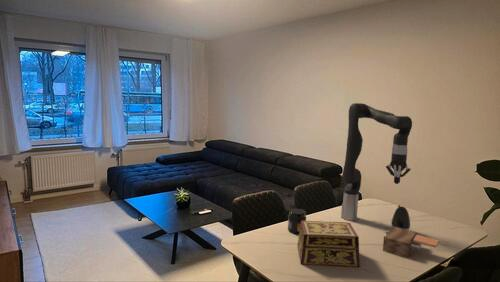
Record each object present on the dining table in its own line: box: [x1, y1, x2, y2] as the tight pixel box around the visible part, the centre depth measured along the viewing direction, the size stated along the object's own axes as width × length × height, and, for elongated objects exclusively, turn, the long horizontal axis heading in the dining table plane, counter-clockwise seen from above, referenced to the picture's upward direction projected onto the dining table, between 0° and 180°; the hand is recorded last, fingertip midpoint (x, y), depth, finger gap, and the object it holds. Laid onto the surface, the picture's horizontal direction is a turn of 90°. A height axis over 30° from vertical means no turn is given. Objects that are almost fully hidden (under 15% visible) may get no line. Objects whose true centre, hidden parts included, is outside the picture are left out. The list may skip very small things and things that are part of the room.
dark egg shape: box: [390, 205, 411, 230], centre depth 189 cm, size 10×10×15 cm
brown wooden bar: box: [383, 231, 422, 251], centre depth 167 cm, size 17×6×6 cm, turn 52°
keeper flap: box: [413, 234, 439, 249], centre depth 160 cm, size 1×8×10 cm
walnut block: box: [382, 226, 417, 259], centre depth 168 cm, size 12×18×8 cm
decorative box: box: [297, 220, 361, 268], centre depth 157 cm, size 28×19×15 cm
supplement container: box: [287, 208, 307, 235], centre depth 187 cm, size 10×10×12 cm
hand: (396, 183), depth 176 cm, fingers closed
